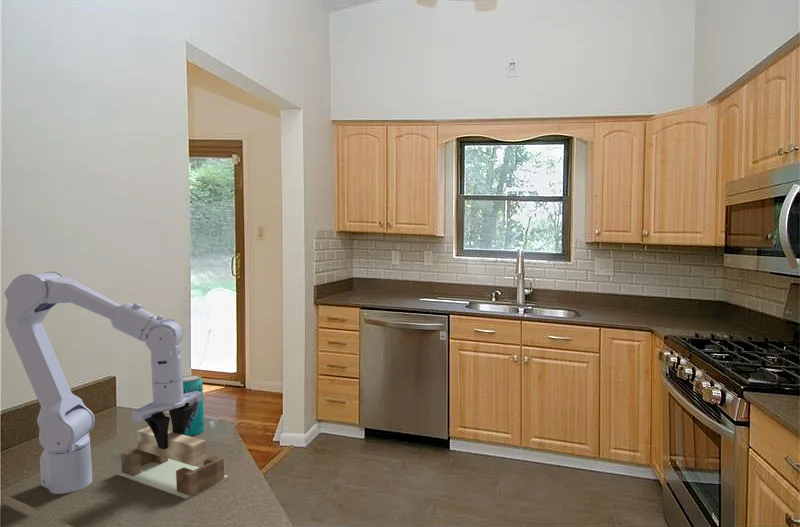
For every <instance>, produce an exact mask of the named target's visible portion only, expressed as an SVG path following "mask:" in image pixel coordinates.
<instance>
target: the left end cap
mask: <svg viewBox="0 0 800 527" xmlns="http://www.w3.org/2000/svg"><path fill="white" fill-rule="evenodd" d="M120 459H121V472H123V473H126V474H128V475H131V476H135V475H137V474H140V473H141V466H143V465H145V464H148V463H150V462H152V461H153V462H156V463H159V464H162V463H165V462H167V461H168V458H165V457H161V456H158V455H155V454H151V453H148V452H144V451H141V450H138V446H136V447H134V448H132V449H130V450H127V451H124V452H122V453H120Z"/></svg>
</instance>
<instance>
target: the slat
mask: <svg viewBox="0 0 800 527" xmlns="http://www.w3.org/2000/svg"><path fill="white" fill-rule="evenodd" d="M136 440H137V442H136V443H137V447H138V450H141V451H144V452H148V453H151V454H155V455H158V456H161V457H165V458H168V459H171V460H175V461H178V462H182V463H185V464H188V465H192V466H197V465H198V464H200V463H203V461H205V460H206V457H207V446H206V444H207V443H206V440H205V439H201V438H197V437H194V436H186V435H182V434H178V433H174V432H173V431H169V430H168V448H167V449H160V448H158V444H157V441H156V439H155V436H154V434H153V432H152V430H151V428H150V426H147V427H144V428H142V429H139V430H136Z"/></svg>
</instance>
